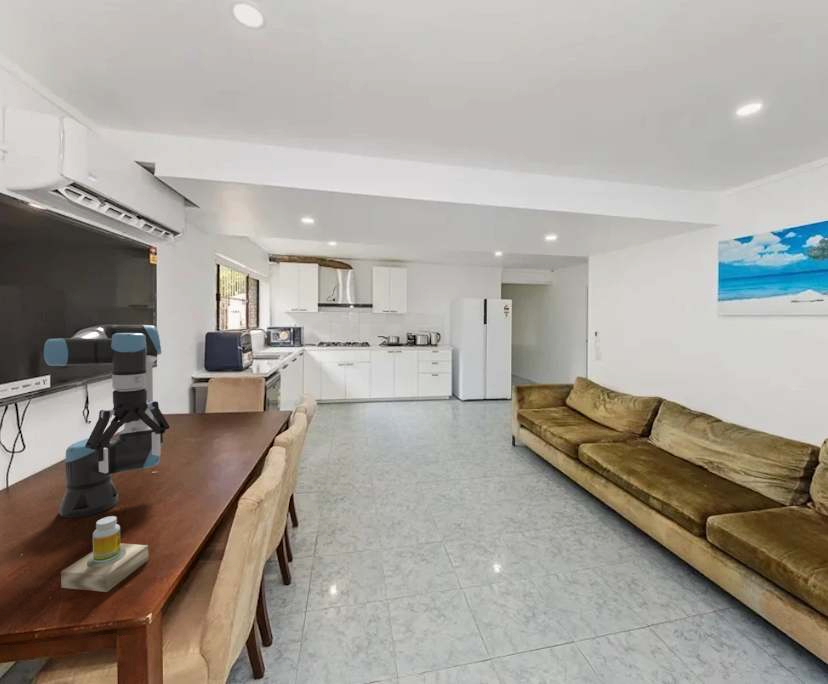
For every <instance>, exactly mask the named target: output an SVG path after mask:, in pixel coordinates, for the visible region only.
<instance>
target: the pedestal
mask: <svg viewBox="0 0 828 684" xmlns="http://www.w3.org/2000/svg"><path fill="white" fill-rule="evenodd" d="M120 548H121V551H120V554H119V555H118V556H117V557H116V558H114V559H112V560H110V561H107V562H103V563H97V562H94V560H93V551H91V552H89V553H88V554H87V555H85V556H83V557H82V558H80V559H78V560H77V561H75V562H74V563H72V564H71V565H68V566H67V567H66V568H64V569H63V570H61V571H60V583H61V585H60V586H61V589H62V588H63V589H71V590H72V589H73V590H83V591H94V592H101V593H102V592H103V593H107V592H109V591H111V589H113V588H115V587H116V585H118V584H120V583H121V582H122V581H123V580H125V579H126V578H127V577H129V575H131V574H132V573H134V572H135V571H136V570H137V569H139V568H140V567H142V565H144V564H145V563H147V562H148V561H149V545H148V544H137V543H136V544H135V543H121V542H120Z"/></svg>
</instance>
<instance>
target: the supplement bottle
mask: <svg viewBox="0 0 828 684" xmlns="http://www.w3.org/2000/svg"><path fill="white" fill-rule="evenodd" d="M117 522H118V517H117V516H115V515H110V516H105V517H102V518H101V519H99V520H97V521H96V522H95V528H96V529H95V530H94V531H93V532H92V552H93V560H94V562H97V563H103V562H107V561H110V560H112V559H114V558H116V557H117V556H118V555H119V554H120V551H121V548H120V543H121V526H120V524H118V523H117Z"/></svg>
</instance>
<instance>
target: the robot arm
mask: <svg viewBox="0 0 828 684" xmlns="http://www.w3.org/2000/svg"><path fill="white" fill-rule="evenodd" d="M161 347H162V346H161V340H160V334H159V331H158V327H156V326H155V325H153V324H152V325H150V324H100V325H94V326H90V327H85V328H83V329H81V330H78V331H77V332H76V333H75V334H74V335H73V336H72V337H70V338H69V337H68V338H64V337H63V338H62V337H59V338H48V339H46V341H45V342H44V348H43V359H44V361H45V363H46V365H48V366H50V367H53V366H54V367H57V366H59V367H65V366H88V365H89V366H90V365H112V372H111V373H112V378H111V379H112V380H111V381H112V389H113V391H112V403H113V408H112V409H109V410H105V409H101V410H99V414H98V419H97V421H96V424H95V426H94V427H93V430H92V431H91V433H90V435H89V437H88V438H86V439H83V440H79V441H77V442H75V443H72V444H71V445H69V446H68V447H67V448H66V449H65V459H64V463H65V492H64V495H63V498H62V500H61V503H60V505H59V508H58V509H59V510H58V511H59V516H60V517H62V518H64V519H65V518H66V519H75V518H84V517H89V516H92V515H93V516H94V515H96V514H98V513H102V512H104V511H107V510H109V509H111V508H112V507H114V506H116V505H117V504H118V502H119V493H118V492H117V489H116V488H115V485H114V483H113V481H112V475H113V474H119V473H120V474H121V473H127V472H131V471H136V470H145V469H147V468H148V469H149V468H152V467H156V466H157V465H158V464H159V463H160V458H161V456H162V455H161V451H162V444H163V442H164V434H165V433H166V430H169V429H170V425H169V423H168V421H167V419H166V418H165V415H164V414H163V413H162V411H161V410H160V408H159V407H160V405H159V401H156V400H154V391H153V390H154V389H153V388H154V383H153V380H154V379H153V373H154V372H153V368H154V367H153V364H154V363H155V361H157V360H158V355H161V354H162V348H161ZM112 416H114V417H113V419H112V420H111V421H110V419H111V418H112ZM154 420H155V421H156V422H155V421H154ZM109 422H110V424H109ZM108 424H109V425H108ZM107 426H108V427H107ZM121 427H123V429H122V430H121V431H120V432H119V433H118V438H117V439H112V438H113V437H114V436H115V435H116V433H117V432H118V430H120V428H121Z"/></svg>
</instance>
